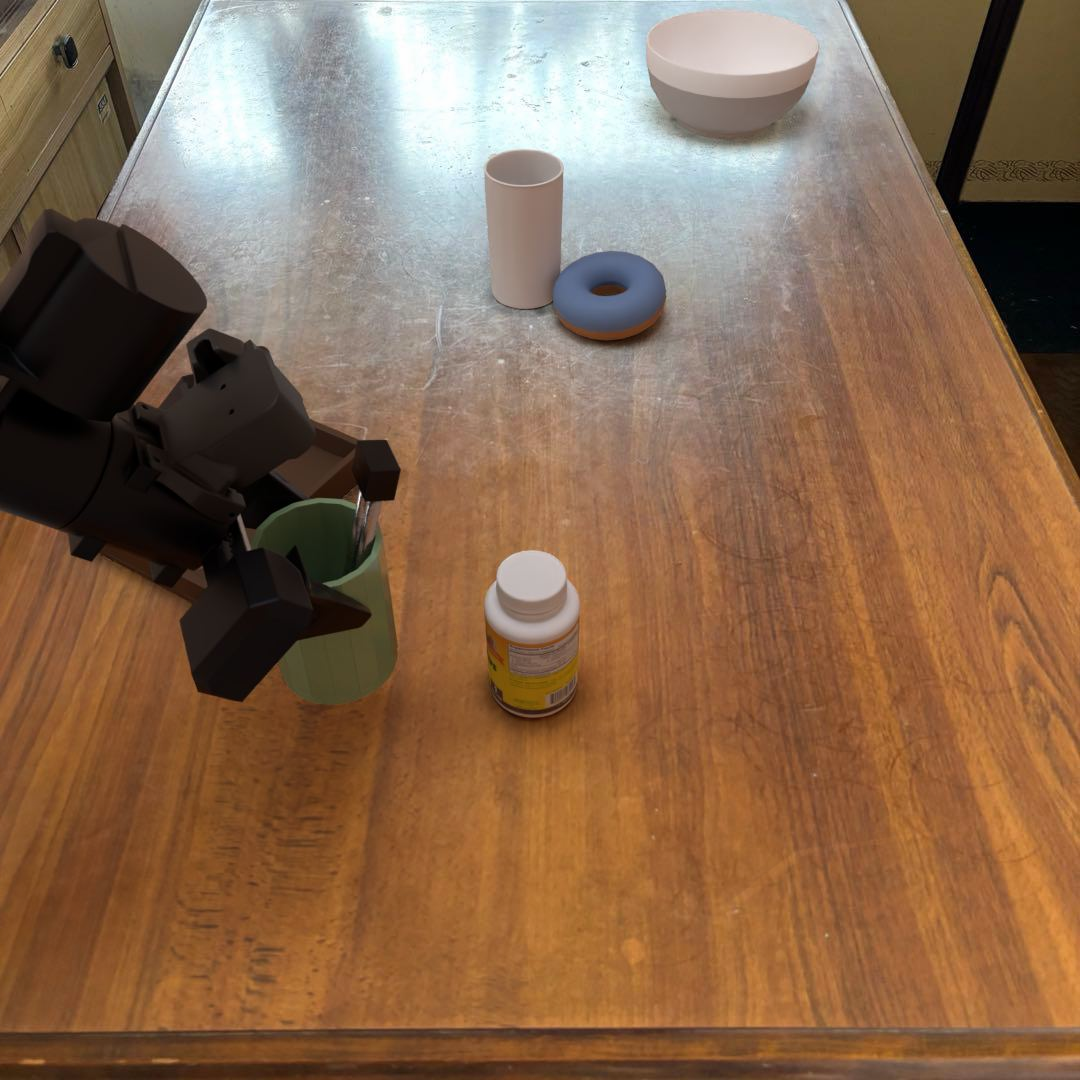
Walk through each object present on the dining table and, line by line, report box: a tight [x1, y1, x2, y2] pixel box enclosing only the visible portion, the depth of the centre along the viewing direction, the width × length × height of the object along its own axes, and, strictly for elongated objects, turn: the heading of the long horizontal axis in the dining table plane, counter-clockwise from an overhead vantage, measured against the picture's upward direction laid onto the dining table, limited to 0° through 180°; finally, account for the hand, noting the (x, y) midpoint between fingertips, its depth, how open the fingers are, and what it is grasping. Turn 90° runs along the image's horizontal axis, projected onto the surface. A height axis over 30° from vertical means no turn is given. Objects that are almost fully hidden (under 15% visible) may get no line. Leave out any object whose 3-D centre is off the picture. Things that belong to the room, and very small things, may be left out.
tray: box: [98, 418, 360, 604], centre depth 80 cm, size 17×13×2 cm
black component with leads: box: [343, 439, 402, 577], centre depth 59 cm, size 4×3×14 cm, turn 112°
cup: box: [250, 498, 399, 706], centre depth 61 cm, size 7×7×10 cm
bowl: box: [645, 9, 820, 140], centre depth 124 cm, size 19×19×9 cm
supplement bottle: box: [483, 549, 581, 719], centre depth 65 cm, size 6×6×10 cm
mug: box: [483, 148, 565, 310], centre depth 98 cm, size 10×7×12 cm, turn 30°
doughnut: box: [552, 250, 667, 341], centre depth 96 cm, size 10×10×5 cm
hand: (348, 573), depth 60 cm, fingers closed on cup, 7 cm apart
